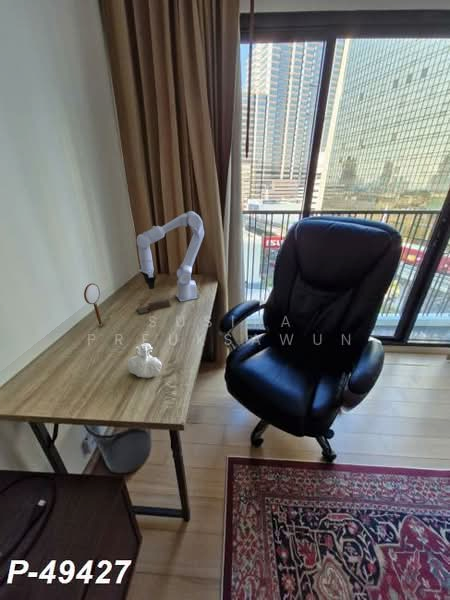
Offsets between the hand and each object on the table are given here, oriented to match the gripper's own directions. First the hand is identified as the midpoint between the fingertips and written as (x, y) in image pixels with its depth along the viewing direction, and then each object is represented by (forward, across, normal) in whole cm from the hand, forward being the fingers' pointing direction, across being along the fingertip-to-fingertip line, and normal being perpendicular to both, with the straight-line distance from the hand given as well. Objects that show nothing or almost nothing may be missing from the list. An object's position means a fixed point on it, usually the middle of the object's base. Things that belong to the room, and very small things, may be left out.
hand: (150, 285), depth 126 cm
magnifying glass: (+9, +12, -25) cm, 30 cm away
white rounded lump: (+9, +51, -13) cm, 53 cm away
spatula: (+9, +8, -1) cm, 12 cm away
